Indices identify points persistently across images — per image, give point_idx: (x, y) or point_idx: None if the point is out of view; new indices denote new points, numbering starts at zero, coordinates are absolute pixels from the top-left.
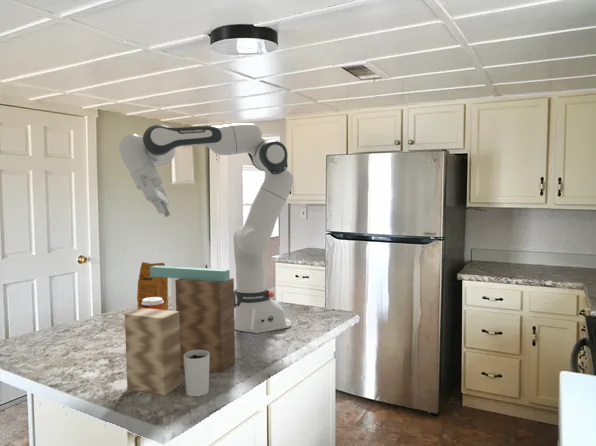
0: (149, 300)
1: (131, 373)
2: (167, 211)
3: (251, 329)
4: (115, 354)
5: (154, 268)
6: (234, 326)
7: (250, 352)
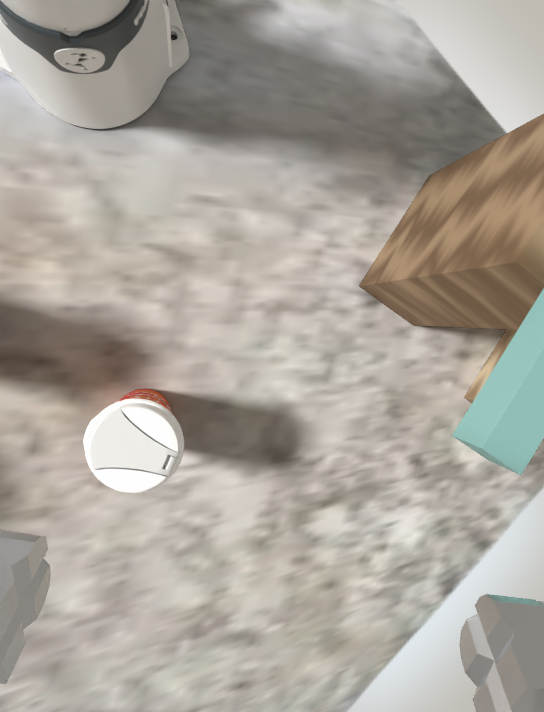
0: (161, 459)
1: None
2: (6, 611)
3: (172, 65)
4: (282, 501)
5: (532, 447)
6: (492, 141)
7: (363, 118)
